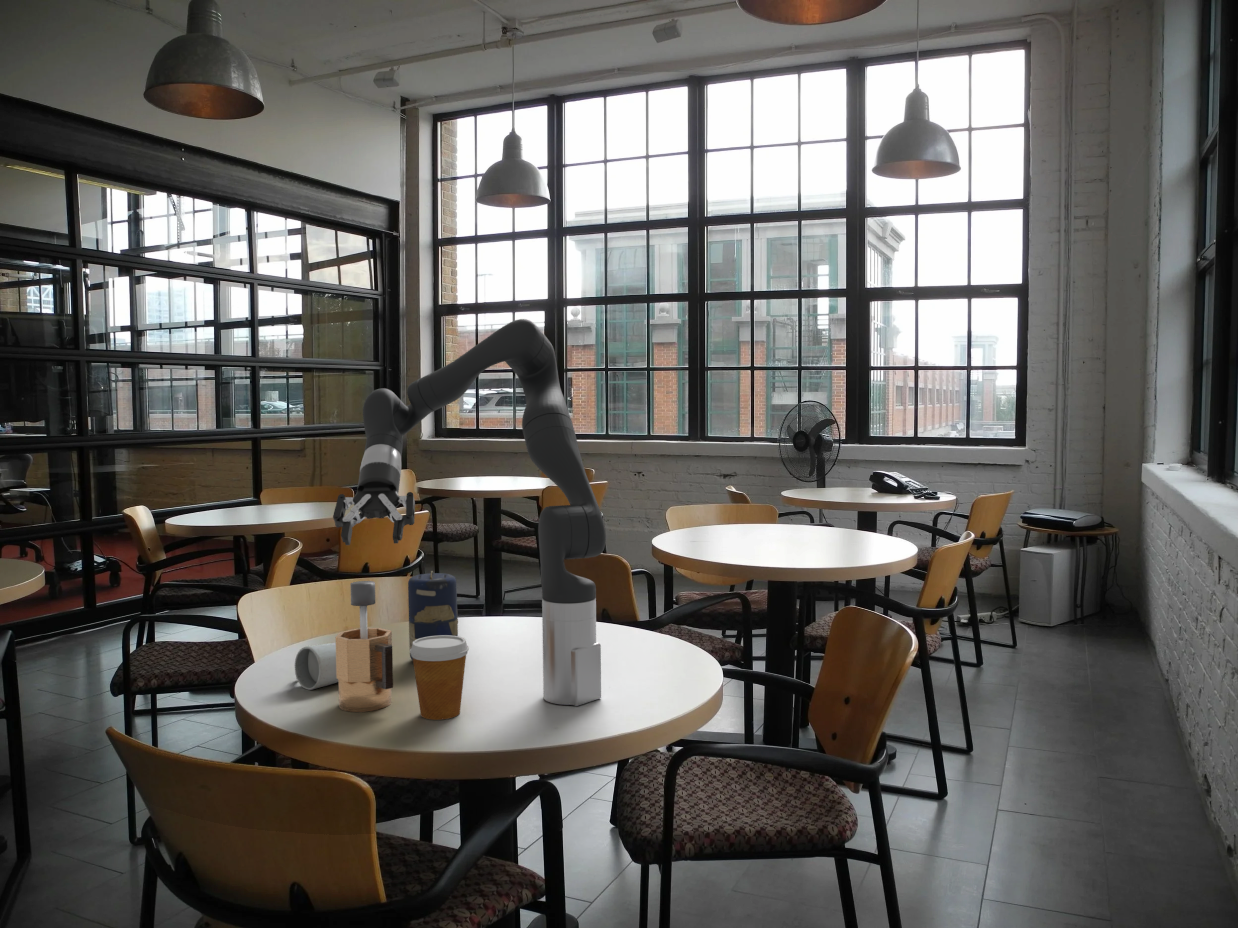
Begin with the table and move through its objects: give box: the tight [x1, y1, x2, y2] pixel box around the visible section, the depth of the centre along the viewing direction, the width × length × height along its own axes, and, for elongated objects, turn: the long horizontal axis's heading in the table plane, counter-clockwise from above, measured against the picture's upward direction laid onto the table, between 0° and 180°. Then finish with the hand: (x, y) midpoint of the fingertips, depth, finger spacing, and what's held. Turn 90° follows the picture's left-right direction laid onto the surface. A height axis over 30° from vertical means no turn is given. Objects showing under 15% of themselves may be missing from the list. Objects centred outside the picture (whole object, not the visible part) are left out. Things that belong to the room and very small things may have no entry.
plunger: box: [350, 580, 376, 639], centre depth 159 cm, size 4×4×15 cm
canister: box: [407, 570, 459, 661], centre depth 187 cm, size 10×10×18 cm
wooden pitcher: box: [335, 627, 394, 713], centre depth 158 cm, size 11×9×12 cm
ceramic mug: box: [294, 642, 338, 691], centre depth 172 cm, size 11×8×8 cm
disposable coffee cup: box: [409, 635, 470, 721], centre depth 154 cm, size 10×10×12 cm
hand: (370, 541), depth 168 cm, fingers open, 8 cm apart
